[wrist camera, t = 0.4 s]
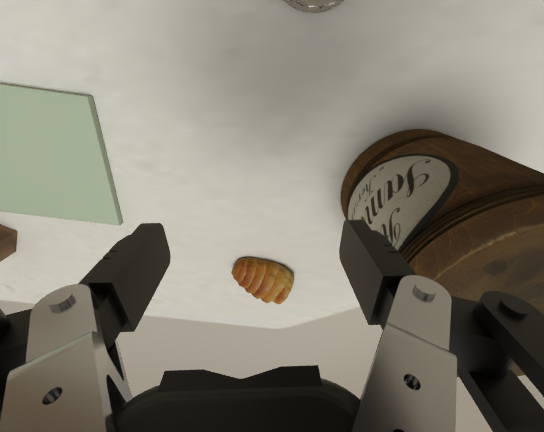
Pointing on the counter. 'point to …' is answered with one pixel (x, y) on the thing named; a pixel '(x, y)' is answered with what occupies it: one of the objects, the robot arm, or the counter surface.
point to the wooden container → (454, 213)
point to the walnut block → (7, 242)
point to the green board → (54, 157)
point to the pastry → (263, 279)
